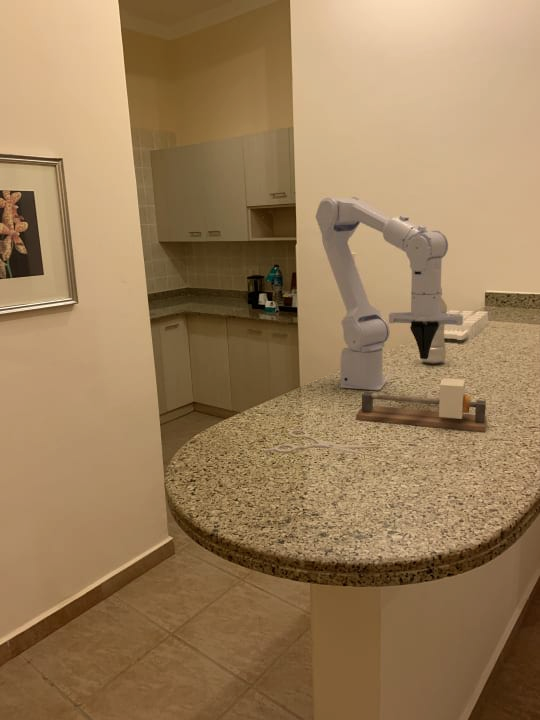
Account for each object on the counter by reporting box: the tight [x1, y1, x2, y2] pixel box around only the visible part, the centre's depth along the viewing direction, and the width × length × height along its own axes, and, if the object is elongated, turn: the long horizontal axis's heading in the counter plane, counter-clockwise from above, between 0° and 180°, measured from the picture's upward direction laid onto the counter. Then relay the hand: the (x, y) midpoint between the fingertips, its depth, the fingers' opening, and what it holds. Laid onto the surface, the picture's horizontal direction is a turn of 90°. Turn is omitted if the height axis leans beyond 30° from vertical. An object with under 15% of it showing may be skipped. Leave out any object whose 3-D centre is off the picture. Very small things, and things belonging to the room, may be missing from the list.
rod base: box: [355, 391, 488, 433], centre depth 103 cm, size 24×6×6 cm, turn 66°
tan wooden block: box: [438, 377, 466, 419], centre depth 100 cm, size 4×4×6 cm
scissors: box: [262, 429, 380, 458], centre depth 94 cm, size 11×1×20 cm
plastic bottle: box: [421, 287, 448, 365], centre depth 142 cm, size 6×7×20 cm
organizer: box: [444, 309, 489, 341], centre depth 180 cm, size 13×5×35 cm
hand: (424, 357), depth 113 cm, fingers closed
